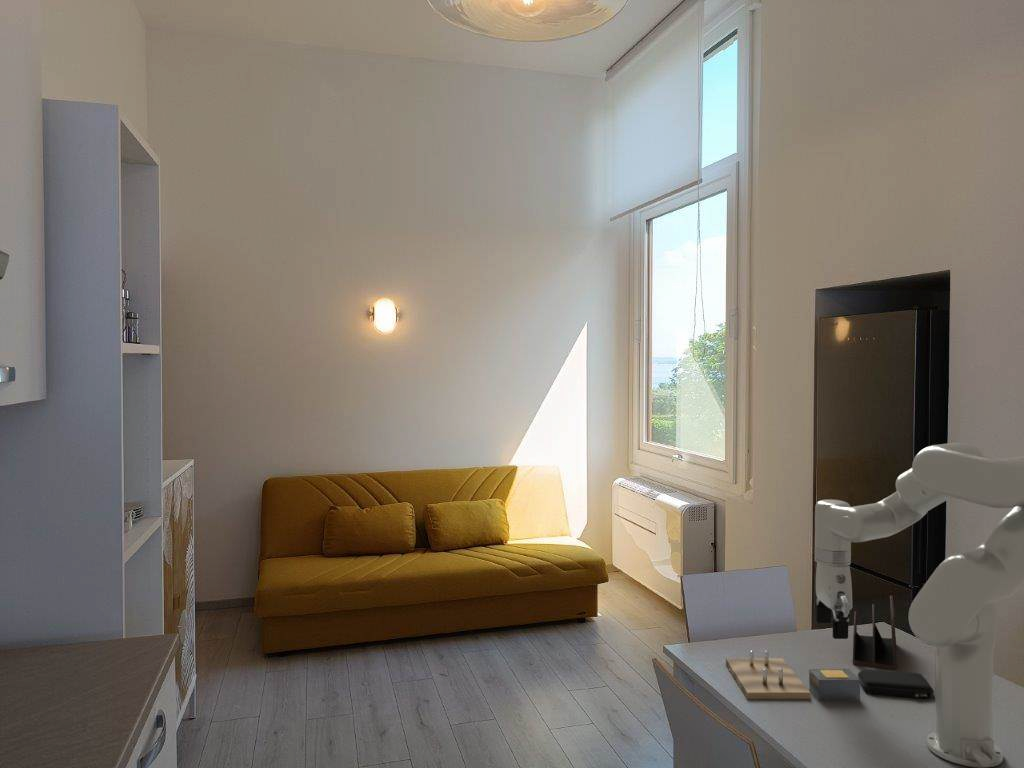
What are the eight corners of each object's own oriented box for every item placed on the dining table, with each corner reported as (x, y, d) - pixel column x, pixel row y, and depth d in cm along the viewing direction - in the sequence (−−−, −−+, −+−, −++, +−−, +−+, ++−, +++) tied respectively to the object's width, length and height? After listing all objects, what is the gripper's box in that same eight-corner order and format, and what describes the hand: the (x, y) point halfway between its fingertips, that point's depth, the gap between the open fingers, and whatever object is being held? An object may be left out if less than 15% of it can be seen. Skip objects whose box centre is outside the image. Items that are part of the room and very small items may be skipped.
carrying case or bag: (865, 698, 170) (938, 704, 166) (865, 684, 170) (937, 690, 166) (856, 679, 180) (924, 684, 176) (856, 666, 180) (924, 671, 176)
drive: (849, 690, 173) (848, 668, 173) (860, 702, 167) (859, 679, 167) (809, 690, 174) (809, 668, 173) (818, 702, 168) (818, 679, 167)
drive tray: (810, 699, 169) (810, 677, 169) (747, 699, 169) (747, 677, 169) (782, 664, 189) (782, 644, 188) (725, 664, 189) (725, 644, 189)
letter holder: (894, 643, 201) (894, 591, 201) (897, 671, 184) (896, 613, 183) (853, 638, 206) (853, 587, 205) (852, 665, 188) (851, 608, 188)
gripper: (865, 566, 161) (864, 645, 162) (834, 545, 178) (833, 617, 179) (830, 566, 161) (829, 644, 162) (802, 545, 179) (801, 616, 179)
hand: (831, 630), depth 171 cm, fingers open, 9 cm apart
